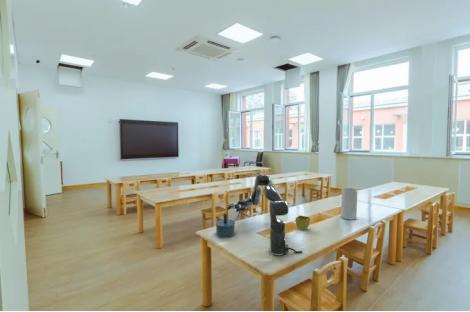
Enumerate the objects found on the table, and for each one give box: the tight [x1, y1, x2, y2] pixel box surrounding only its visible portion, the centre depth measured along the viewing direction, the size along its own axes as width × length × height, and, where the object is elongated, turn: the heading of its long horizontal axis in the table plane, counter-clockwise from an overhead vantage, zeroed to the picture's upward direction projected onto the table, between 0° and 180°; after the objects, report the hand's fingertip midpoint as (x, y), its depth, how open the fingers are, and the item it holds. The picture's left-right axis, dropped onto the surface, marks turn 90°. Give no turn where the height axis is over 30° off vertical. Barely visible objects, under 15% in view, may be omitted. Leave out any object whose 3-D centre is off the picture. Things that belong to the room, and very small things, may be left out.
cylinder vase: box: [340, 187, 358, 221], centre depth 221 cm, size 12×12×25 cm
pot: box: [215, 223, 236, 239], centre depth 187 cm, size 13×13×8 cm
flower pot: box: [295, 215, 311, 231], centre depth 197 cm, size 9×9×9 cm
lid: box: [215, 212, 236, 227], centre depth 187 cm, size 14×14×8 cm
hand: (232, 209), depth 193 cm, fingers open, 8 cm apart
